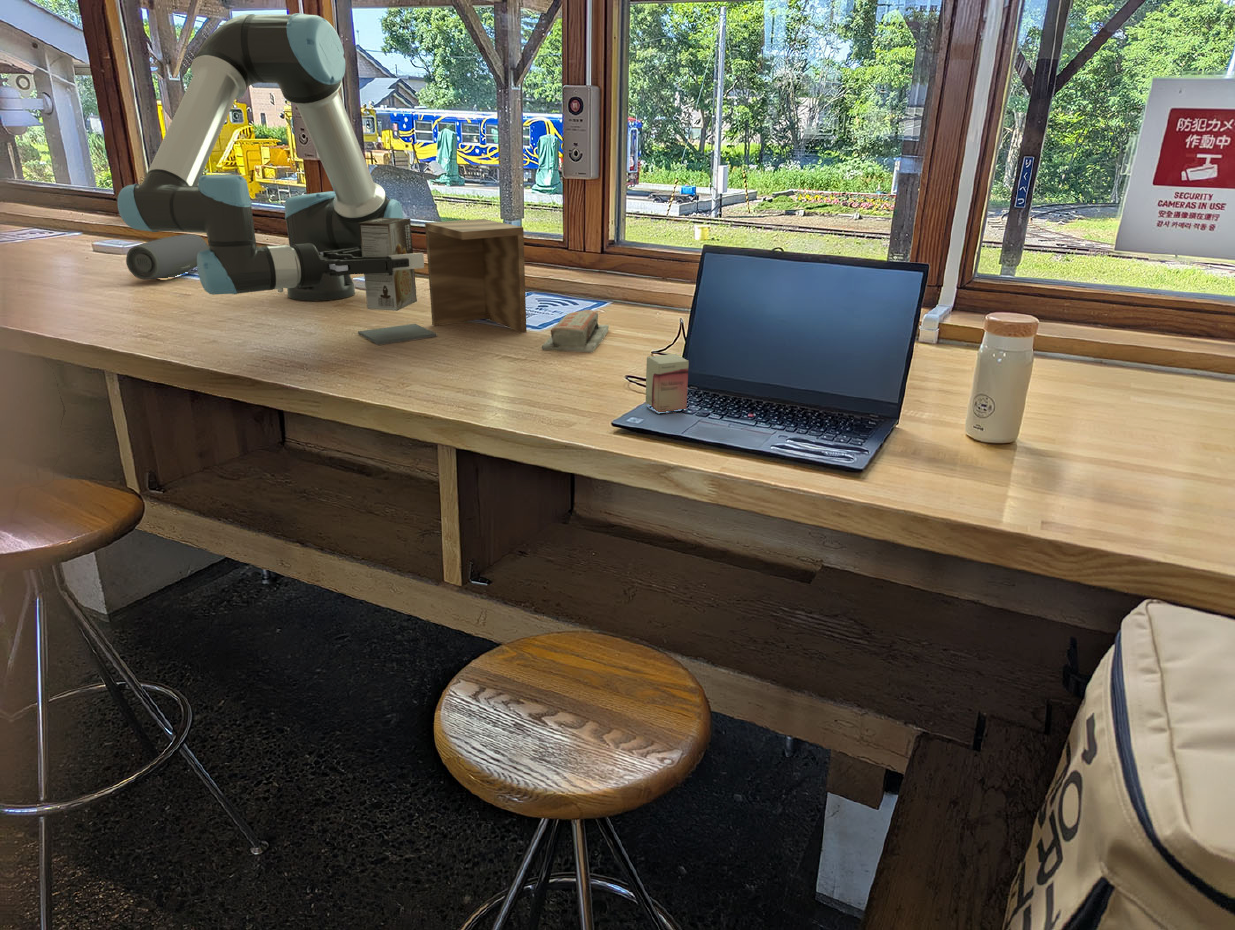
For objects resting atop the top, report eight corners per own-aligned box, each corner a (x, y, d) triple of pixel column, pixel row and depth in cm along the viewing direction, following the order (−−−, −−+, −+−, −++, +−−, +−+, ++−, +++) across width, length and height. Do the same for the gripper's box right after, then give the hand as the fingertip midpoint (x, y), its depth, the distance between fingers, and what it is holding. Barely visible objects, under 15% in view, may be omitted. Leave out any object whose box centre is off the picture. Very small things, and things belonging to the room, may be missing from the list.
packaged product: (594, 329, 158) (540, 326, 159) (594, 355, 160) (541, 352, 161) (609, 308, 174) (561, 306, 176) (609, 332, 176) (561, 330, 177)
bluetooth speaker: (182, 269, 236) (176, 231, 232) (214, 270, 235) (208, 232, 231) (128, 284, 215) (119, 243, 211) (162, 285, 214) (155, 244, 210)
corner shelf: (432, 324, 178) (424, 222, 171) (488, 317, 185) (483, 218, 178) (468, 340, 166) (462, 231, 159) (526, 331, 174) (523, 227, 166)
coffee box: (387, 300, 172) (380, 216, 166) (417, 302, 171) (411, 217, 165) (366, 309, 163) (357, 221, 157) (398, 311, 162) (390, 223, 156)
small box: (657, 415, 127) (658, 363, 124) (644, 407, 131) (645, 356, 128) (687, 411, 129) (689, 360, 126) (674, 403, 132) (676, 352, 129)
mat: (358, 334, 170) (358, 331, 170) (415, 326, 177) (415, 323, 177) (377, 344, 163) (377, 341, 162) (436, 336, 169) (436, 333, 169)
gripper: (277, 278, 164) (389, 268, 176) (317, 297, 147) (438, 285, 159) (272, 237, 161) (386, 230, 173) (312, 252, 144) (435, 243, 156)
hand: (411, 256), depth 166 cm, fingers closed on coffee box, 10 cm apart
